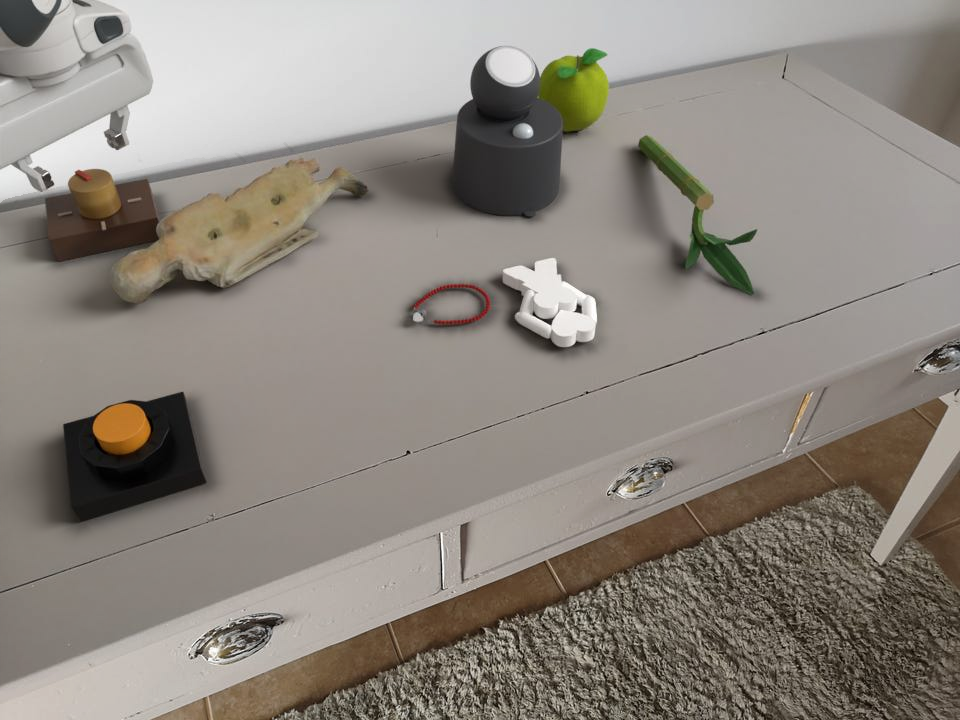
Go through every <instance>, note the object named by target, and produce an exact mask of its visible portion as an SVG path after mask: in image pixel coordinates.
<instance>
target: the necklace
mask: <svg viewBox="0 0 960 720" xmlns="http://www.w3.org/2000/svg"><path fill="white" fill-rule="evenodd" d="M454 288H455V289H457V288H458V289H460V288H462V289H463V288H466V289H468V288H469V289H472V290H475V291H476V292H478V293H480V294H481V295H482V297H484V299H485V300H484V301H485V309H484V310H483V311H482V312H481V313H480V314H478V315H476V316H473V317H470V318H466V319H464V318H462V319H454V320H441V319H440V320H438V319H434V320H431V319H428V318H427V317H426V315H427V311H426V310H425V309H421V310H420V309H417V308H418V307H419V306H420V305H421V304H422V303H424V302H425V301H426V300H427V299H429V298H430V297H432V296H433V295H435V294H437V293H438V292H440V291H443V290H446V289H454ZM490 303H491V302H490V298H489V295H488V294H487V292H485V291H484V290H483V289H482V288H480V287H479V286H476V285H473V284H469V283H466V284H465V283H455V284H453V283H452V284H445V285H441V286H439V287H436V288H435V289H434V290H431V291H430V292H428V293H427V294H425V295H424V296H423V297H422V298H420V300H418V301H417V302H416V303H415V304H414V305H413V310H412V312H413V314H412V322H413V323H422V322H424V321H425V322H427V323H429V322H430V323H434V324H435V325H437V324H438V325H457V324H459V325H460V324H465V323H466V324H468V323H472V322H476V321H478V320H479V319H482V318H483V317H485V316H486V315H487V314H488V312H489V311H490V306H491V304H490Z"/></svg>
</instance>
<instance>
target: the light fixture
mask: <svg viewBox="0 0 960 720" xmlns="http://www.w3.org/2000/svg"><path fill="white" fill-rule="evenodd" d="M540 77H541V74H540V71H539V68H538V66H537V64H536V62H535V61H534V59H533V58H532V57H531V56H530V54H528V53H527V52H526V51H525V50H523V49H522V48H520V47H516V46H512V45H501V46H499V45H498V46H496V47H493V48H491V49H489V50H487V51H486V52H485V53H483V54H482V55H481V56H480V57H479V58H478V59H477V61H476V62H475V63H474V66H473V68H472V71H471V75H470V79H469V80H470V81H469V82H470V83H469V85H470V87H469V88H470V93H471V97H472V99H470V100H468V101H467V102H465V103H464V104H463V105H462V106H461V107H460V108H459V110H458V113H457V116H456V128H455V137H454V138H455V139H454V152H453V162H452V163H453V165H452V174H451V175H452V176H451V185H452V190H453V192H454V193H455V194H456V196H457V197H458V198H459V200H461V201H462V202H463V203H464V204H466V205H467V206H469V207H471V208H473V209H475V210H478V211H479V212H484V213H487V214H491V215H497V216H509V217H512V216H514V217H515V216H522V215H524V216H525V217H527V218H532V217H536V215H537V212H538V211H541V210H543V209H545V208H546V207H548V206H549V205H550V204H552V203H553V202H554V200H555V199H556V198H557V197H558V194H559V192H560V182H561V181H560V180H561V165H562V150H563V149H562V148H563V135H564V134H563V133H564V131H563V119H562V116H561V114H560V113H559V111H558V110H557V109H556V108H555V107H553V106H552V105H551V104H549V103H548V102H546V101H544V100H542V99H539V98H538V95H539V92H540Z"/></svg>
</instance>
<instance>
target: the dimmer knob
mask: <svg viewBox="0 0 960 720" xmlns="http://www.w3.org/2000/svg"><path fill="white" fill-rule="evenodd" d="M115 185H116V184H115V181H114V179H113V176H112V174H111V173H110V171H108V170H106V169H103V168H89V169H84V170H81V169H77V170H75V171H74V174H72V176H71V177H70V178H69V179H68V181H67V186H68V189H69V191H70V193H71V194H72V196H73V199H74V201H75V203H76V206H77V208H78V211H79V213H80V214H81V215H82V216H83V217H85V218H89V219H101V218H105V217H108V216H111V215H113V214H114V213H116V212H117V211H118V210H119V209H120V207H121V201H120V198H119V195H118V192H117V190H116V187H115Z"/></svg>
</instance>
